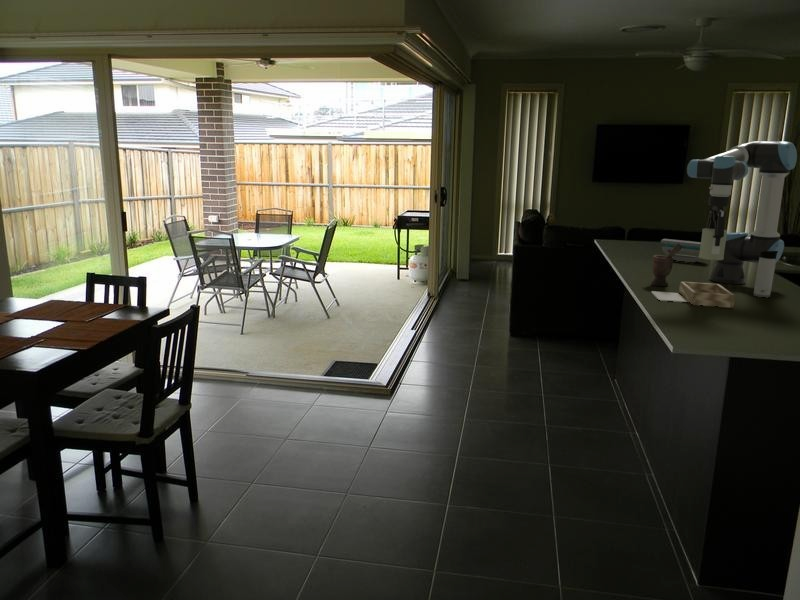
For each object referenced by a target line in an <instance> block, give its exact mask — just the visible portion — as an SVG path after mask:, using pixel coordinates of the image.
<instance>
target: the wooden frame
mask: <svg viewBox="0 0 800 600" xmlns="http://www.w3.org/2000/svg"><path fill="white" fill-rule="evenodd" d="M678 293H680V294H681V295H682V297H683V298H685V299H686V300H687V301H688V303H689V302H690V303H691V304H693V305H692V306H700V305H703V307H715V306H718V308H719V307H720V308H730V309H733V308H734V306H735V300H736V295H735V294H734V293H733V292H731V291H730V290H728V289H727V288H725V287H724V286H723V285H721V284H719V283H709V282H696V281H695V282H693V281H680V282H679V287H678ZM690 303H689V304H690ZM691 304H690V305H691Z"/></svg>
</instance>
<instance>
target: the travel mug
mask: <svg viewBox="0 0 800 600" xmlns="http://www.w3.org/2000/svg"><path fill="white" fill-rule="evenodd" d="M777 253H778V251H764V252H762V251H761V252H760V257H759V258H760V259H759V263H757V264H758V265H757V270H756V276H755V283H754V289H753V296H754V297H756V296H757V297H756V298H761V297H766V298H765V299H769V298H770V297H771V292H772V286H773V281H774V274H775V270H776V263H777V262H776V256H777ZM768 297H769V298H768Z"/></svg>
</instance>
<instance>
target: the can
mask: <svg viewBox="0 0 800 600" xmlns="http://www.w3.org/2000/svg"><path fill="white" fill-rule="evenodd" d="M701 232H702V233H701V241H700V242H701V246H700V253H698V255H699V258H700V259H703V260H708V261H709V260H710V261H716V260H723V259H724V249H725V243H726V236H727V233H728V230H727V229H724V237H722V238H721V245H720V252H719V254H711V252H712V245H713V236H715V229H709V228H706V227H705V228H702V231H701Z"/></svg>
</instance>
